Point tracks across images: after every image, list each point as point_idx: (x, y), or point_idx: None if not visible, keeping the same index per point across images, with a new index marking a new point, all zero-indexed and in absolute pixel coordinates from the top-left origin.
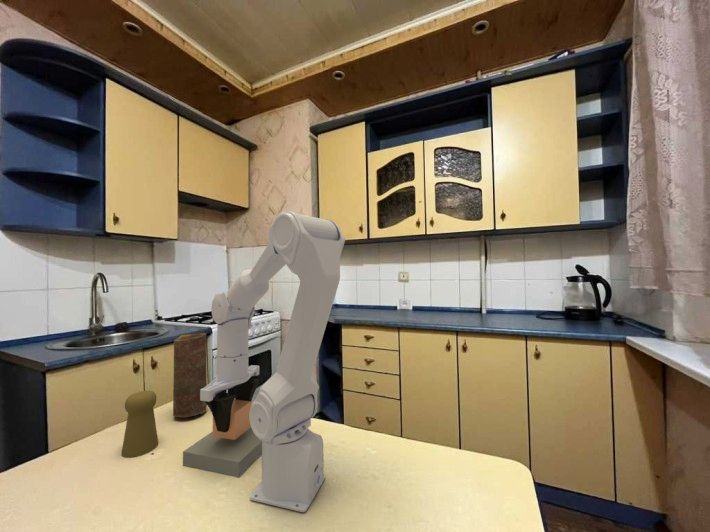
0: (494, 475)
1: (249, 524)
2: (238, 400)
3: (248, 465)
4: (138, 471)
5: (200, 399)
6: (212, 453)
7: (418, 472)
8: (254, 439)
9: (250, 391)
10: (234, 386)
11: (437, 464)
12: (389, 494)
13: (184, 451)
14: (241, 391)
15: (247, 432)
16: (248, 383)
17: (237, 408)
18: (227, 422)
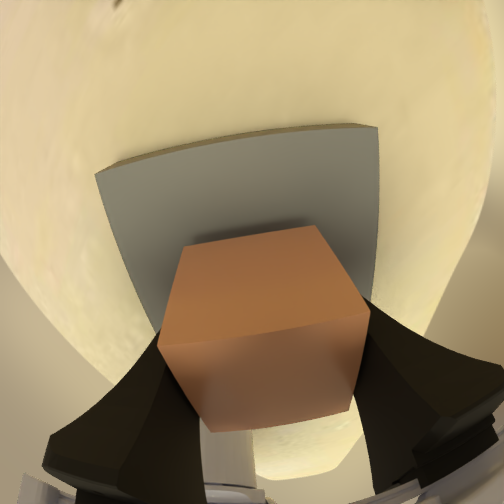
0: (319, 469)
1: None
2: (351, 368)
3: None
4: (47, 73)
5: (24, 477)
6: (150, 283)
7: (308, 454)
8: None
9: (369, 449)
10: (414, 415)
11: (326, 455)
12: (262, 453)
13: (97, 179)
14: (383, 417)
15: None
16: (385, 485)
17: (252, 421)
18: None
